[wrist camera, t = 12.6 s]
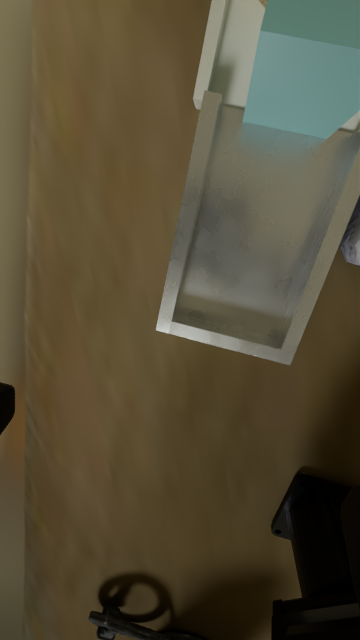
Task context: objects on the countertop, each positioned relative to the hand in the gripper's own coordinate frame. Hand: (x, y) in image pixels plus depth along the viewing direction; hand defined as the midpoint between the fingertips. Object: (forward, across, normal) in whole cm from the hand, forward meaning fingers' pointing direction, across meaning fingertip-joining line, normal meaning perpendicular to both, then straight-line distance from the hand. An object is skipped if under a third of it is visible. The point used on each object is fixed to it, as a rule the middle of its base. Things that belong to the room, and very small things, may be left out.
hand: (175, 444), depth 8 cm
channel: (+12, -2, -4) cm, 13 cm away
